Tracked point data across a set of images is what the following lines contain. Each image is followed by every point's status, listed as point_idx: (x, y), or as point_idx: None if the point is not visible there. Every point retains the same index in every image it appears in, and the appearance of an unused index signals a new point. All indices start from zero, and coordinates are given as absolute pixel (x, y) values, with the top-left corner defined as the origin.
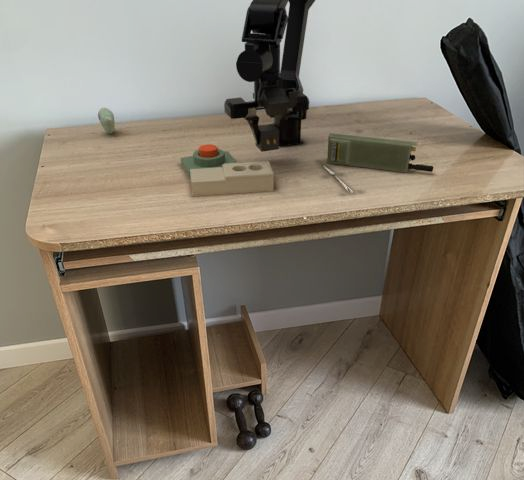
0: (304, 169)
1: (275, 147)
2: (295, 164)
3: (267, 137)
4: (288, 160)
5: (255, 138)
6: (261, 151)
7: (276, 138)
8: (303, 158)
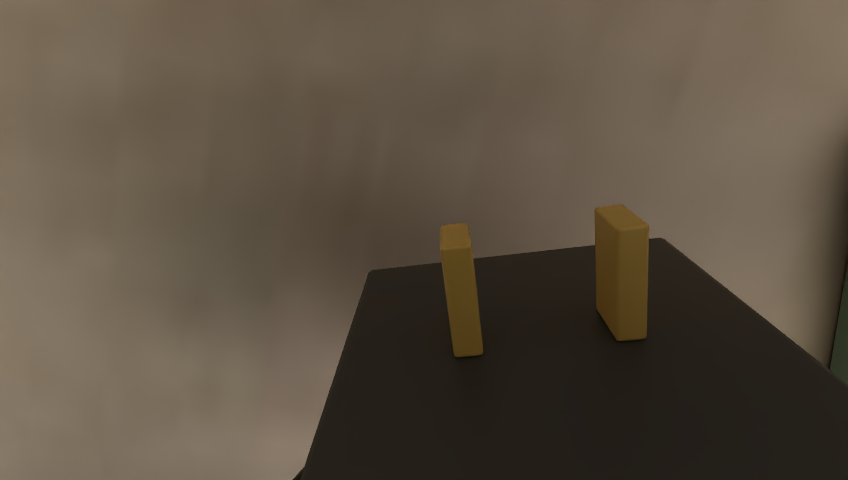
0: (117, 21)
1: (424, 276)
2: (208, 186)
3: (642, 368)
4: (268, 299)
5: None
6: (663, 242)
7: (396, 363)
8: (113, 312)
